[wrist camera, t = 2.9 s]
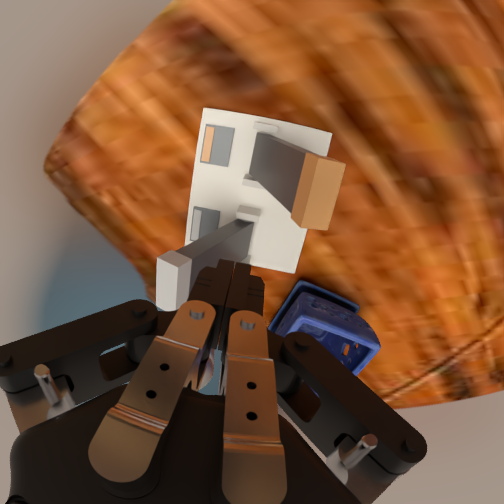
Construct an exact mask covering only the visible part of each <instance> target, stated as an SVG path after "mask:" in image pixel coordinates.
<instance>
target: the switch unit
mask: <svg viewBox="0 0 504 504" xmlns="http://www.w3.org/2000/svg"><path fill="white" fill-rule="evenodd" d="M257 132H262V133H267V134H271V135H272V136H274V137H277V138H280V139H282V140H285V141H287V142H289V143H292V144H294V145H297V146H299V147H302V148H304V149H306V150H309V151H311V152H313V153H316V154H318V155H321V156H326V157H327V153H328V149H329V145H330V141H331V137H332V133H329V132H326V131H322V130H318V129H314V128H310V127H306V126H302V125H298V124H293V123H289V122H284V121H280V120H275V119H270V118H265V117H260V116H255V115H249V114H243V113H237V112H231V111H225V110H218V109H211V108H204V109H203V114H202V120H201V126H200V132H199V138H198V144H197V151H196V158H195V164H194V172H193V179H192V186H191V194H190V202H189V211H188V219H187V228H186V238H185V246H186V245H188V244H190V243H192V242H194V241H195V240H197V239H199V238H201V237H203V236H205V235H207V234H209V233H211V232H213V231H215V230H217V229H218V228H220V227H222V226H224V225H226V224H228V223H230V222H232V221H234V220H236V219H243V220H248V221H253V222H254V226H253V231H252V236H251V241H250V246H249V250H248V255H247V257H246V258H245V259H244V260H242V261H241V263H246V264H251V265H253V266H258V267H263V268H268V269H273V270H278V271H283V272H289V273H295V270H296V267H297V263H298V260H299V257H300V253H301V250H302V246H303V243H304V239H305V236H306V232H307V229H306V228H300V227H299V226H298V225H297V224H296V223H295V222H294V221H293V220H292V219H291V218H290V217H291V213H290V212H289V211H288V210H287V209H286V208H285V207H284V206H283V205H282V204H281V203H280V202H279V201H278V200H277V199H276V198H274V197H273V196H272V195H271V194H270V193H269V192H268V191H267V190H266V189H265V188H264V187H263V186H262V185H261V184H260V183H259V182H258V181H257V180H255V179H254V178H253V177H252V176H251V175H250V174H249V169H250V164H251V159H252V154H253V149H254V144H255V139H256V134H257Z"/></svg>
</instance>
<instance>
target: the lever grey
mask: <svg viewBox="0 0 504 504" xmlns="http://www.w3.org/2000/svg"><path fill="white" fill-rule="evenodd" d="M253 226H254V222H253V221H248V220H243V219H236V220H234V221H232V222H230V223H228V224H226V225H224V226H222V227H220V228H218V229H217V230H215V231H213V232H211V233H209V234H207V235H205V236H203V237H201V238H199V239H197V240H195V241H194V242H192V243H190V244H188V245H186V246H184V247H182V248H180V249H179V250H177V251H173V250H170V251H168V252H166V253H165V254H163V255H161V256H159V257H157V277H156V306H157V307H159V308H161V309H163V310H164V311H174V310H177V309H179V308H180V306H181V305H182V304H183V303H185V302H186V301H187V299H188V297H189V294H190V292H191V290H192V287H193V285H194V283H195V280H196V278H197V276H198V274H199V271H200V270H201V269H203V268H204V267H206V266H209V267H214V268H216V267H217V264H218V261H219V259H220V258H222V259H227V260H232V261H235V264H234V267H235V265H236V262H241V261H242V260H244V259H245V258H246V257H247V255H248V250H249V246H250V241H251V236H252V231H253Z"/></svg>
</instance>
